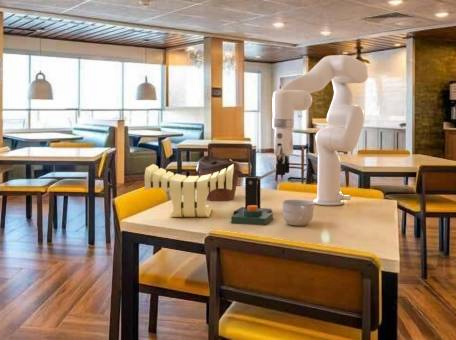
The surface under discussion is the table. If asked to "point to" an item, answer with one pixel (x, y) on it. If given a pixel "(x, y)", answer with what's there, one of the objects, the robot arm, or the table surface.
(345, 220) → the table surface
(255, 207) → the button
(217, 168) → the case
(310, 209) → the teacup
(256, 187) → the bracket
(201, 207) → the slatted curved stool
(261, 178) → the lever
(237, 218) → the button block
